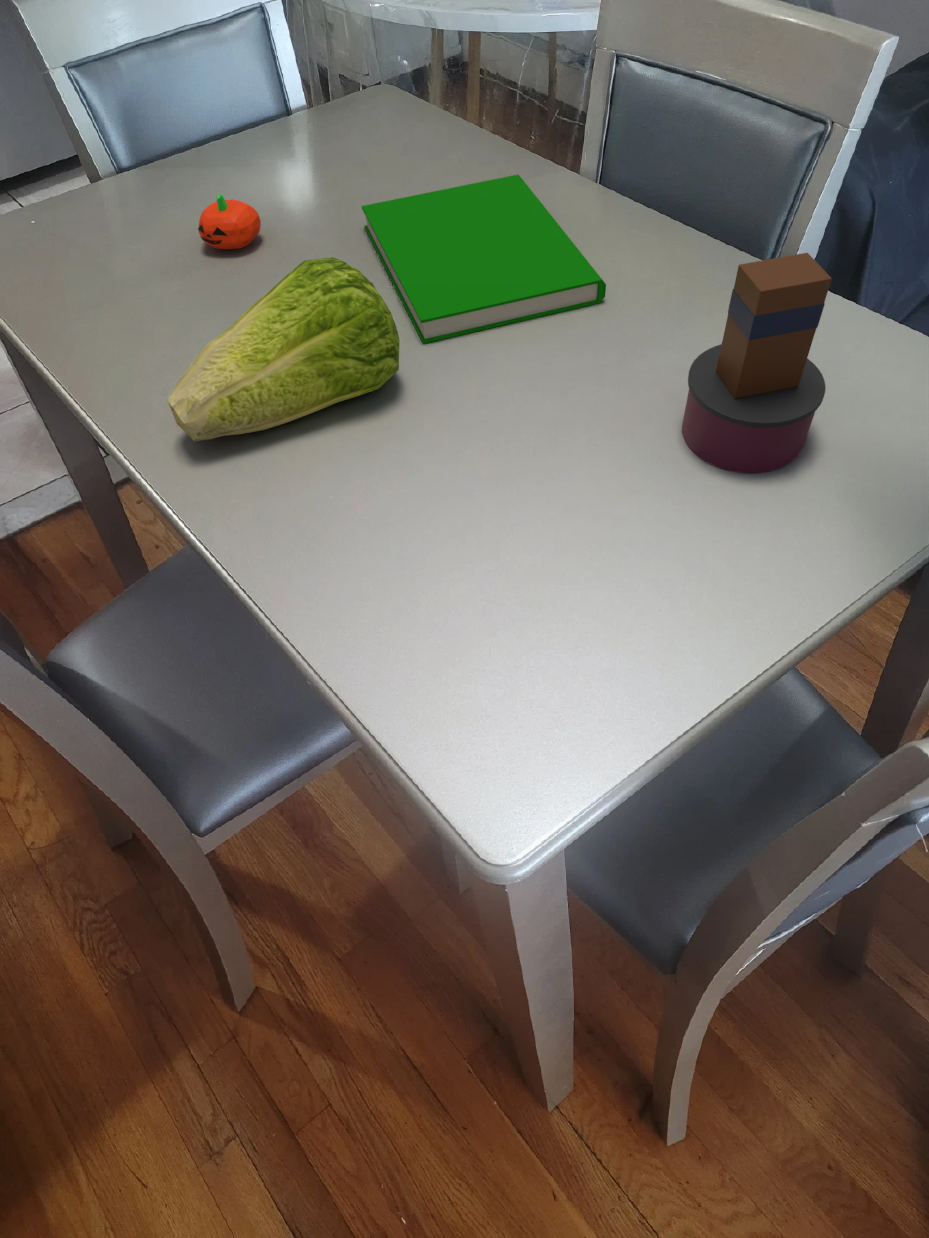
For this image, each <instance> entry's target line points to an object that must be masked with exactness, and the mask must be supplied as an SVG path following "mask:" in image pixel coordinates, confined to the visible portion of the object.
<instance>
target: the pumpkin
mask: <svg viewBox="0 0 929 1238" xmlns="http://www.w3.org/2000/svg"><path fill="white" fill-rule="evenodd" d="M261 222H262V221H261V218H260V215H259V212H257V210H256V208H255V207H254V206H252V205H250V204H248V203H246V202H243V201H241V200H238V199H235V198H233V199H225V197H224V196H223V194H221V193H220V194H216V200H215V201H214V202H212V203H211V204H209V205H208V206H206V207H205V208H204V209H203V211H202V212H201V213H200V216H199V220H198V228H197V230H198V234H199V237H200V238H201V240H202V241H203V242H204V243H205V244H206V245H208V246H210V247H211V248H214V249H217V250H218V249H219V250H233V249H234V250H235V249H237V250H238V249H243V248H245V247H246V246H248V245H250V243H252V242H254V239H255V238H256V237H257V236H258V234H259V233H260V231H261V224H262V223H261Z"/></svg>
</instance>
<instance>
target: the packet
mask: <svg viewBox="0 0 929 1238" xmlns="http://www.w3.org/2000/svg"><path fill="white" fill-rule="evenodd" d="M831 283H832V277H831V276H830V275H829V274H828V273H827V271H825V269H824V268H823V267H822V266H821V265H820V264H819V263H818V262H817V261H816V260H815V258H814V257H813V256H811V254H810V253H809V252H802V253H798V254H797V253H796V254H792V255H786V256H781V257H774V258H769V259H763V260H758V261H751V262H746V263H740V264H738V267H737V271H736V277H735V281H734V285H733V288H732V291H731V295H730V300H729V304H728V309H727V318H726V323H725V326H724V331H723V335H722V341H721V344H722V345H721V350H720V354H719V359H718V364H717V368H716V372H717V374H718V375H719V377H720V378H721V380H722V381H723V383H724V384H725V386H726V387H727V388H728V390H729V391H730V393H731V394H732V396H733V397H734V399H737V398H742V397H747V396H752V395H757V394H763V393H768V392H773V391H778V390H783V389H789V388H794V387H798V386H799V383H800V380H801V377H802V373H803V370H804V367H805V364H806V360H807V359H808V357H809V355H810V350H811V347H812V344H813V341H814V337H815V334H816V331H817V328H818V327H819V324H820V321H821V318H822V315H823V311H824V308H825V305H826V304H825V303H826V299H827V296H828V294H829V293H828V292H829V289H830V285H831Z"/></svg>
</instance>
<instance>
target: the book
mask: <svg viewBox="0 0 929 1238" xmlns="http://www.w3.org/2000/svg"><path fill="white" fill-rule="evenodd" d="M361 209H362V212H363V214H364V216H365V220H366V225H364V230H365V232H366V234H367V236H368V238H369V240H370V242H371V244H372V246H373V248H374V250H375V252H376V253H377V256H378V257H379V260H380V262H381V263H382V265H383V267H384V270H385V272H386V273H387V275H388V277H389V280H390V281H391V283H392V285H393V288H394V290H395V291H396V294H397V295H398V297H399V299H400V301H401V303H402V305H403V307H404V309H405V311H406V313H407V315H408V316H409V320H410V321H411V323H412V325H413V327H414V328H415V331H416V332H417V335H418V337H419V339H420V340H421V342H422V345H423V344H428V343H432V342H433V343H434V342H437V341H438V342H439V341H442V340H446V339H450V338H456V337H459V336H463V335H468V334H472V333H477V332H481V331H485V330H490V329H494V328H499V327H504V326H507V325H512V324H516V323H520V322H525V321H530V320H533V319H538V318H542V317H546V316H550V315H555V314H559V313H564V312H568V311H572V310H577V309H581V308H586V307H589V306H594V305H598V304H601V303H602V301H603V300H604V299H605V297H606V293H607V283H606V282H605V281H604V280H603V278H602V277H601V276H600V275H599V274H598V272H597V271H596V269H594V267H593V266H592V265H591V263H590V262H589V261H588V260H587V258H586V257H585V255H584V254H583V253H582V252H581V251H580V250H579V248H578V247H577V246H576V244H574V242H573V241H572V240H571V238H570V237H569V236H568V234H567V233H566V232H565V230H564V229H563V228H562V227H561V226H560V224H559V223H558V221H557V220H556V219H555V218H554V216H553V215H552V214H551V213H550V211H549V210H548V209H547V208H546V207H545V206H544V204H543V203H542V202H541V200H540V199H539V198H538V197H537V196H536V194H535V193H534V191H533V190H532V189H531V187H529V185H528V184H527V183H526V182H525V180H524V179H523V178H522V177H521V176H520V174H518V173H516V174H513V175H509V176H503V177H498V178H493V179H489V180H483V181H478V182H473V183H468V184H463V185H459V186H453V187H449V188H444V189H439V190H433V191H430V192H425V193H419V194H413V195H408V196H403V197H400V198H395V199H389V200H384V201H379V202H374V203H369V204H365V205H361Z"/></svg>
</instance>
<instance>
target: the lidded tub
mask: <svg viewBox="0 0 929 1238" xmlns="http://www.w3.org/2000/svg"><path fill="white" fill-rule="evenodd" d="M721 345H722V343H720V344H717V345H714V346H712V347H710V348H708V349H706V350H704V351H703V352H702V353H700V354H699V355H698V356H697V357H696V358H695V359H694V360H693V362H692V364H690V367H689V371H688V376H687V386H688V392H687V397H686V403H685V406H684V407H685V408H684V413H683V418H682V419H683V420H682V423H681V434H682V437H683V439H684V442H685V444H686V445H687V447H688V448H689V450H691V451H692V453H694V454H695V455H696V456H697V457H699V458H700V459H701V460H703V461H704V462H706V463H707V464H709V465H712V466H713V467H714V466H715V467H717V468H719V469H723V470H726V471H730V472H736V473H742V474H760V473H767V472H772V471H776V470H778V469H781V468H783V467H785V466H787V465H789V464H790V463H792V462H793V461H795V460H796V459H797V458H798V457H799V455H800V454H801V452H802V451H803V448H804V447H805V444H806V440H807V437H808V434H809V431H810V429H811V425H812V423H813V419H814V418H815V417H814V416H815V414H816V411H817V410H818V409H819V407H820V406H821V404H822V403H823V401H824V397H825V394H826V381H825V378H824V376H823V373H822V372H821V371H820V369H819V368H818V367H817V366H816V364H815V363H814V362H812V360H810V359H809V358H807V360H806V364H805V367H804V370H803V373H802V377H801V380H800V383H799V386H798V387H794V388H789V389H783V390H778V391H773V392H768V393H763V394H757V395H752V396H747V397H742V398H737V399H734V397H733V396H732V394H731V393H730V391H729V390H728V388H727V387H726V386H725V384H724V383H723V381H722V380H721V378H720V377H719V375H718V374H717V372H716V368H717V364H718V359H719V354H720V350H721Z"/></svg>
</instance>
